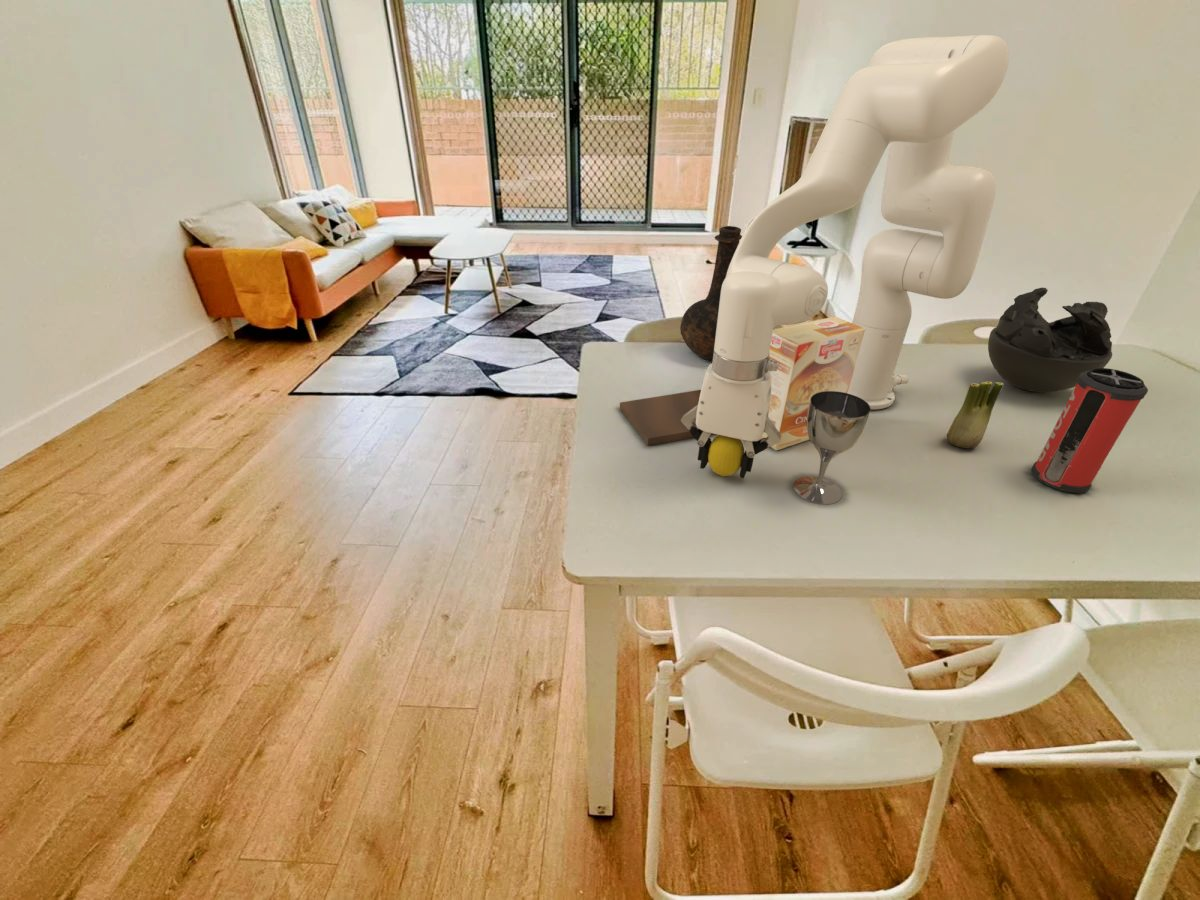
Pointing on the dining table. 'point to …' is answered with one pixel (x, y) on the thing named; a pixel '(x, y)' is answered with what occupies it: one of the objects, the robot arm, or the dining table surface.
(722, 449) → the lemon
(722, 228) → the glass bottle
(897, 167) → the robot arm
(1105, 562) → the dining table surface
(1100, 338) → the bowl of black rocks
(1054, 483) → the speaker
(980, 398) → the fennel bulb
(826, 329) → the coffeecake box
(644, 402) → the cutting board
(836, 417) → the wine glass
